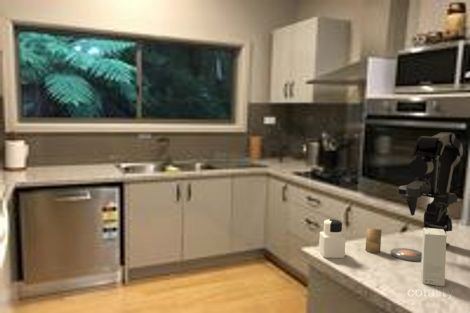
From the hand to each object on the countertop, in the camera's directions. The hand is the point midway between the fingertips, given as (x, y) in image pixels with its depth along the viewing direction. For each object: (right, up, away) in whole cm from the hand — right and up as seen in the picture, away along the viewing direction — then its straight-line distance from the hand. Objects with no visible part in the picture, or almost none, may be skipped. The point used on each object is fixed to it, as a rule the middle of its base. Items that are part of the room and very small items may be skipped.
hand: (424, 218), depth 140 cm
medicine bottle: (-32, -13, 0) cm, 34 cm away
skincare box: (-7, -15, -20) cm, 26 cm away
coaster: (-6, -13, +1) cm, 14 cm away
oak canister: (-16, -12, +5) cm, 21 cm away
